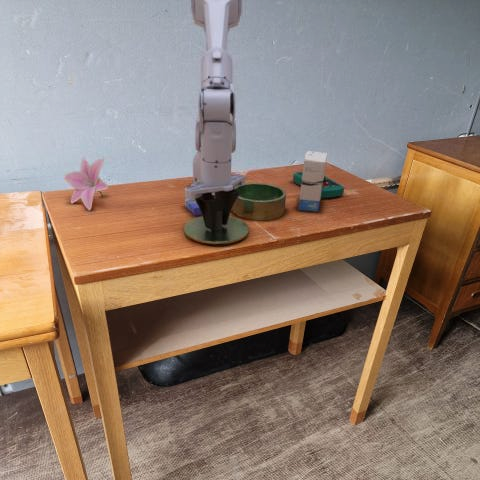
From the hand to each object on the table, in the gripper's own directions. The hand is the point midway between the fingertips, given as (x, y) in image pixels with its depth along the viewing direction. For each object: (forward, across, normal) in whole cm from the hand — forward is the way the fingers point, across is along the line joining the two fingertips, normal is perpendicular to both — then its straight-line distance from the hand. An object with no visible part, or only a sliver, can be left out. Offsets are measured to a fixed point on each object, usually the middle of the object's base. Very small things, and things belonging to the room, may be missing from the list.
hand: (216, 225), depth 92 cm
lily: (+2, -11, +32) cm, 34 cm away
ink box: (+2, +28, -3) cm, 28 cm away
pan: (+2, +16, +3) cm, 16 cm away
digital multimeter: (+2, +39, +3) cm, 39 cm away
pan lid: (+1, 0, 0) cm, 1 cm away
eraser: (+2, +4, +12) cm, 13 cm away
